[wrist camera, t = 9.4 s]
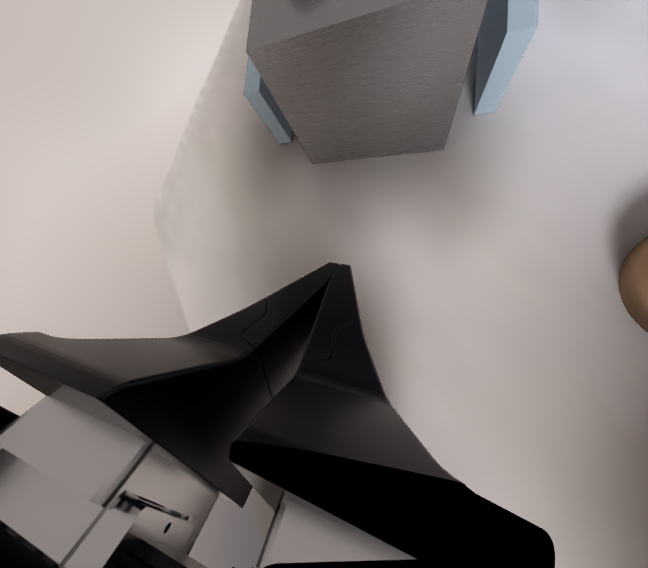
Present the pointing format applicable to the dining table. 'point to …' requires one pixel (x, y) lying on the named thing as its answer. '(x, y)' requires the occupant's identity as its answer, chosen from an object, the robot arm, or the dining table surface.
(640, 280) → the walnut wheel
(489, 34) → the cradle
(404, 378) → the dining table surface
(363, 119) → the engine block
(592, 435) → the dining table surface
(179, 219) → the dining table surface
